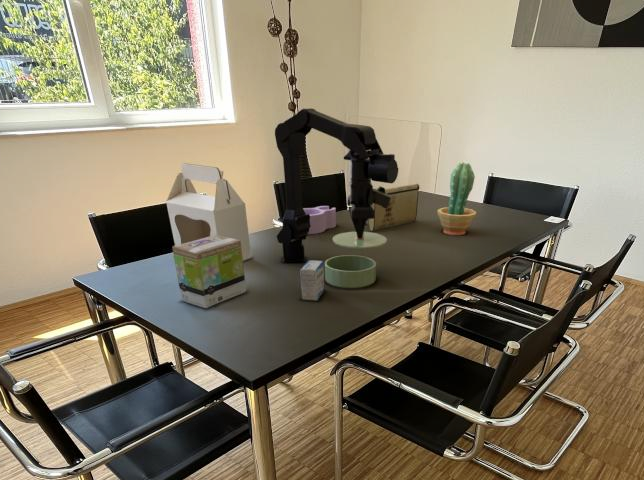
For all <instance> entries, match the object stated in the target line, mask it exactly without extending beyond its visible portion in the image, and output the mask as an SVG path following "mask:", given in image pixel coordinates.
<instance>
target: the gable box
mask: <svg viewBox="0 0 644 480" xmlns="http://www.w3.org/2000/svg"><path fill="white" fill-rule="evenodd" d="M223 177H224V170H220V169H219V167H216V166H209V165H201V164H195V163H187V162H182V163H181V172H180V173H179V172H178V173H177V176H176V177H175V180H174V183H173V185H172V187H171V189H170V192H169V194H168V197H167V199H166V201H165V203H166V207H167V212H168V213H167V214H168V218H169V223H170V228H171V233H172V237H173V238H172V239H173V243H174V246H176V245H180V244H184V243H188V242H191V241H195V240H198V239H202V238H206V237H209V236H213V235H218V236H223V237H227V238H232V239H236V240H240V241H241V247H242V258H243V262H244V261H247V260H250V259H252V252H251V243H250V233H249V225H248V217H247V216H248V215H247V208H246V202H244V200H243V199H242V198H241V197H240V195H239V193H237V191H236V190H235V189H234V187H233V186H232V185H231V184H230V182H229V181H228V180H227V179H226V178H223ZM192 181H195V182H203V183H209V184H215V185H216V187H215V196H213V195H207V194H201V193H198V192H197V190H196V188H195V186H194V184H193V182H192Z"/></svg>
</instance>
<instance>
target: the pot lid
mask: <svg viewBox="0 0 644 480" xmlns="http://www.w3.org/2000/svg"><path fill="white" fill-rule="evenodd" d="M332 242H333V244H335V245H337V246H338V247H339V246H340V247H343V248H347V249H353V250H368V249H374V248H379V247H382V246H384V245H386V244H387V242H388V239H387V237H386V236H384V235H382V234H379V233H377V232H376V233H375V232H372V231H364V232H363V236H362V238H360V239H359V238H358V236H357V233H356V231H347V232H341V233H338V234H335V235H334V236H333V237H332Z"/></svg>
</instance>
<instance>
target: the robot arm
mask: <svg viewBox="0 0 644 480" xmlns="http://www.w3.org/2000/svg"><path fill="white" fill-rule="evenodd" d="M312 129H313V130H316V131H317V132H320V133H323V134H325V135H327V136H329V137H332V138H334V139H336V140H338V141H339V142H341V144H342V145H343V146H344V147H345V148H347V149H348V152H347V153H346V154H345V155H344V156H343V160H344V161H350V165H349V166H350V171H349V172H350V173H349V176H350V177H349V179H350V181H349V187H350V188H349V190H350V191H349V192H350V193H349V195H348V196H347V198H346V199H347V202H346V204H347V206H348V207H350V206H351V207H350V208H348V212H349V216H350V218H351V219H350V220H351V223H352V225H353V228H354V230H355V232H356V233H357V236H358V238H359V239H360V238H362V236H363V232H365V227H366V225H365V224H367V221H368V220H369V219H373V218H374V212H375V211H374V209H373V208H372V206H371V205H372V203H375V204H378V205H380V206H382V207H383V208H386V209H387V207H388V205H389V202H390V199H391V196H390V195H388V194H387V193H385V189H386V188H385V187H383V186H381V185H380V186H379V187H377V188H374V185H373V184H372V181H373V182H379V183H385V184H394V183H395V182H396V181H397V178H398V174H399V166H398V162H397V160H396V159H395V158H396V156H395V154H393V153H389V154H388V153H387V154H385V153H384V152H383V149H382V146H381V145H380V143H379V141H378V138H377V135H376V133H375V129H374V128H373V127H372V126H371V125H363V124H354V123H347V122H345V121H342V120H340V119H338V118H335V117H333V116H330V115H327V114H325V113H323V112H320V111H318V110H317V109H315V108H312V107H311V108H309V107H308V108H301V109H300V110H299V111H298V112H297V113H296V114H294V115H293V116H291V117H290V118H288V119H286V120H284V121H283V122H280V123H278V124H277V126H276V127H275V128H274V138H275V143H276V147H277V149H278V151H279V153H280V155H281V156H282V160H283V161H282V164H283V176H284V190H285V203H286V210H285V212H284V214H283V218H282V228H281V229H280V231H279V232H278V233H277V235H276V239H277V242H278V243H279V244H282V256H283V259H282V262H283V263H303V262H304V260H305V258H306V257H305V254H306V253H305V244H304V243H303V241H304V240H306V239H307V236H308V234H307V233H308V232H309V227H311V225H310V215H309V214H306V213H305V211H304V209H303V208H304V207H303V190H302V189H303V188H302V174H301V173H302V171H301V155H302V153H303V150H304V147H305V139H306V138H305V137H306V136H307V135H308V134H310V132H311V131H312Z"/></svg>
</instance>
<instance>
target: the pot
mask: <svg viewBox="0 0 644 480" xmlns="http://www.w3.org/2000/svg"><path fill="white" fill-rule="evenodd" d="M376 280H377V261H375V260H374V259H373V258H370V257H368V256H363V255H356V254H344V255H336V256H332V257H330V258H327V259H326V260H325V261H324V281H325V282H326V283H328V284H329V285H331V286H335V287H339V288H346V289H347V288H349V289H350V288H351V289H352V288H355V289H356V288H363V287H367V286H370V285H372V284H374V283H375V281H376Z"/></svg>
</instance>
